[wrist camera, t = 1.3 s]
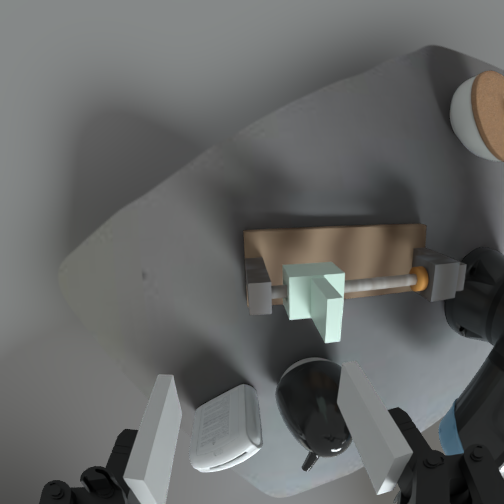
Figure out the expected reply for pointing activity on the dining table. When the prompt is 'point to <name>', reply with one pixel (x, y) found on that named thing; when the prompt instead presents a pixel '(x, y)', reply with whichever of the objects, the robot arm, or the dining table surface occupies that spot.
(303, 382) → the pump dispenser
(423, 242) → the rod stand
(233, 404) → the photo printer
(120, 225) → the dining table surface
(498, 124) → the lidded bowl
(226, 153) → the dining table surface
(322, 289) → the pale green block
